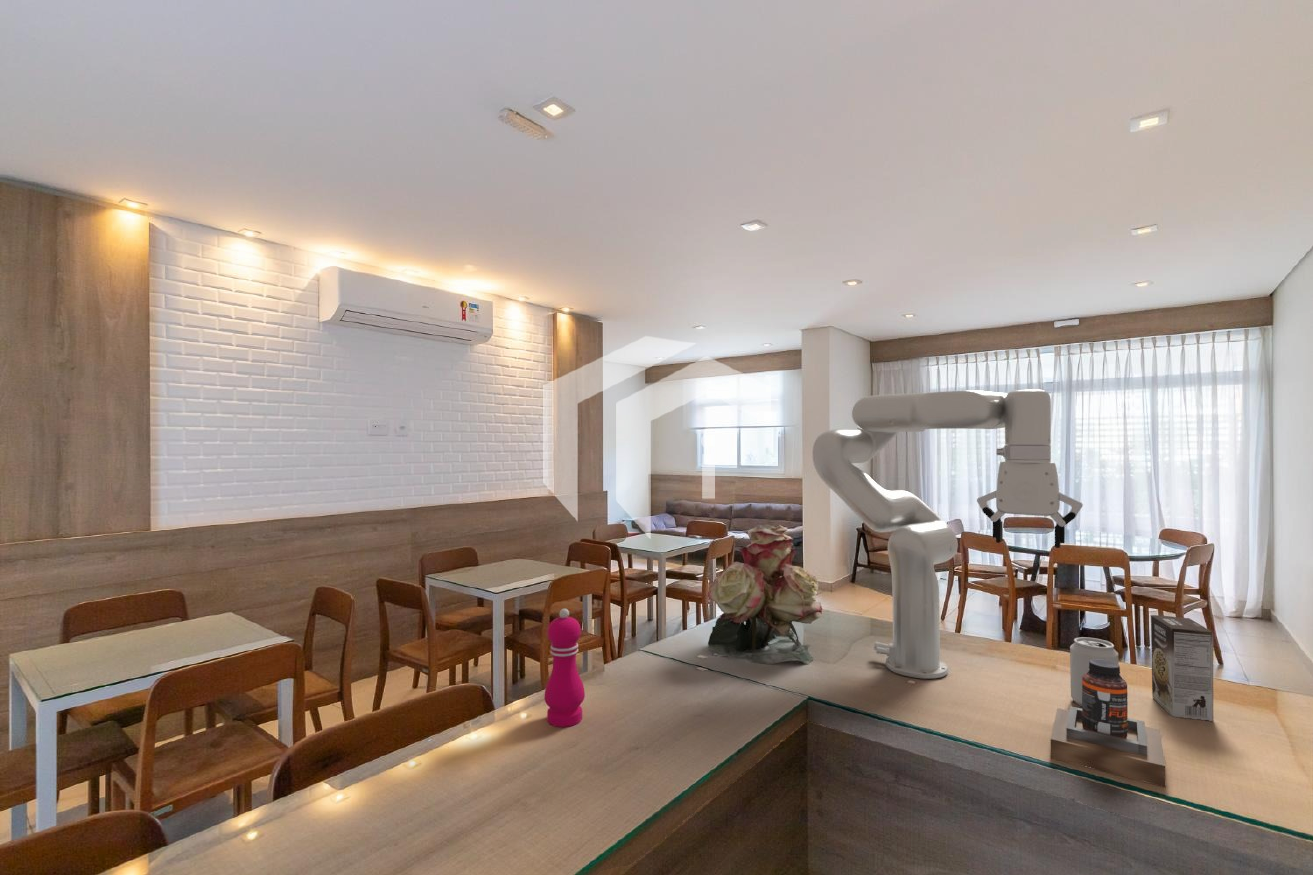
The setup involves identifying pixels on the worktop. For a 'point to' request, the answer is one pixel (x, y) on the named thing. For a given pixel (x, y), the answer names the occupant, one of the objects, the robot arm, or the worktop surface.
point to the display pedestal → (1109, 748)
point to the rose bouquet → (764, 601)
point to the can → (1087, 660)
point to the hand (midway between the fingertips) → (1027, 544)
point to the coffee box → (1182, 667)
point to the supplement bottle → (1104, 699)
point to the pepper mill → (564, 673)
